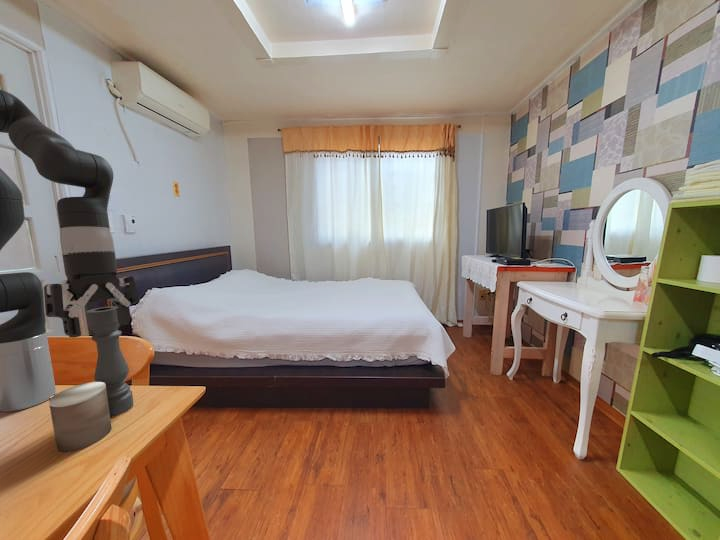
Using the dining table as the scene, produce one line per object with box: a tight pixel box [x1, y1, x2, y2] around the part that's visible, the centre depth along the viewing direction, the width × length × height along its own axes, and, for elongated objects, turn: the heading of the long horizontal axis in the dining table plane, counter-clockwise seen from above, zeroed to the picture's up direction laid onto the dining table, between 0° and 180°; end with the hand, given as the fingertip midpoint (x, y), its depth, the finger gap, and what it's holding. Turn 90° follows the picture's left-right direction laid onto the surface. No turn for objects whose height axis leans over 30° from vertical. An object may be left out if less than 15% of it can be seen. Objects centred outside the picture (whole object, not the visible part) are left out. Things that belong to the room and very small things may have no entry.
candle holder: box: [85, 305, 134, 418], centre depth 64 cm, size 6×6×25 cm
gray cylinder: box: [48, 381, 112, 453], centre depth 56 cm, size 8×8×10 cm
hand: (101, 330), depth 55 cm, fingers open, 8 cm apart
